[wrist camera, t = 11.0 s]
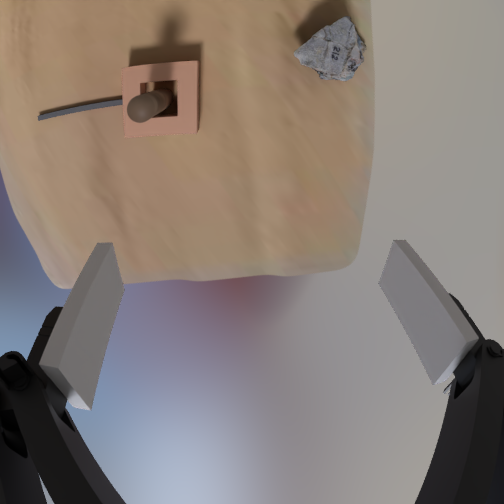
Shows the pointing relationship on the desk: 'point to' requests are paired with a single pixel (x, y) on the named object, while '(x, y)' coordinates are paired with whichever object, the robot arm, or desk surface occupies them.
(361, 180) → the desk surface
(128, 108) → the dowel
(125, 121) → the pink square frame
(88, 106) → the strip
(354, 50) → the mineral specimen
